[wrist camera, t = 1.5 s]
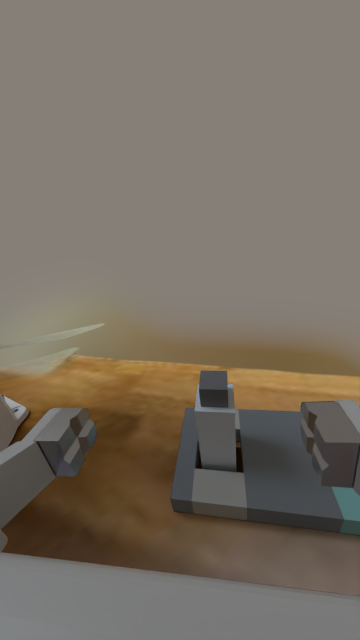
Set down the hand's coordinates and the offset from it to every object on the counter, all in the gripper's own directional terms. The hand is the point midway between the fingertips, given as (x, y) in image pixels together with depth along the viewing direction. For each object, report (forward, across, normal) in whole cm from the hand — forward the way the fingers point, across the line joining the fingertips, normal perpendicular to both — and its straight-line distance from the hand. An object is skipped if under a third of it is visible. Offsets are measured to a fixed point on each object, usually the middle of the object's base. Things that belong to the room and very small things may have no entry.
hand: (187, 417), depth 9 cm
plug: (+14, +1, +21) cm, 25 cm away
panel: (+14, -6, +22) cm, 26 cm away
